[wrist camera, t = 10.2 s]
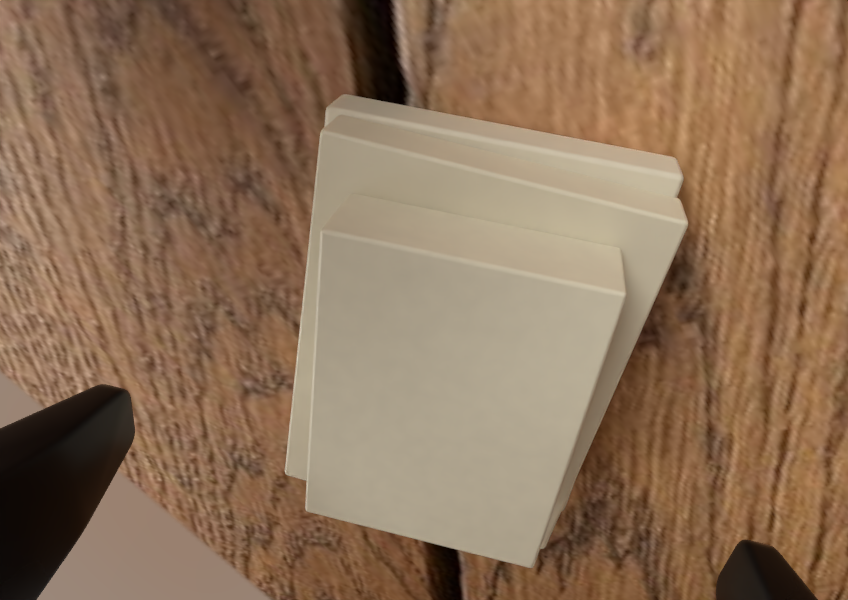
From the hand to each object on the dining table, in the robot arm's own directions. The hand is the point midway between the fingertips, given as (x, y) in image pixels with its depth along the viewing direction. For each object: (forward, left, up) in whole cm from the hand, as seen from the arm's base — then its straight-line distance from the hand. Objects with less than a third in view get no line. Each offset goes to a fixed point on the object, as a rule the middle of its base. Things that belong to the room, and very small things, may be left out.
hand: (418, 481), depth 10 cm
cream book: (0, 0, -3) cm, 3 cm away
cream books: (0, 0, -5) cm, 5 cm away
